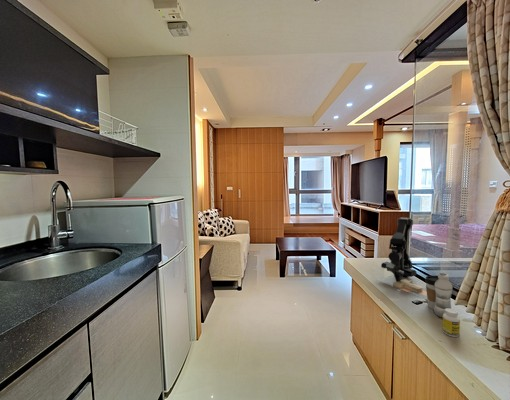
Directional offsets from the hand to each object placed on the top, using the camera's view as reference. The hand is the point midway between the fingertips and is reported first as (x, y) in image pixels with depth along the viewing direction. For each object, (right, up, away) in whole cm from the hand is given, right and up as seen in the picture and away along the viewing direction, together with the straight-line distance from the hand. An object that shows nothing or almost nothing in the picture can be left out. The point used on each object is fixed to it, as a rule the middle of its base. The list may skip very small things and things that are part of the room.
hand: (398, 282), depth 143 cm
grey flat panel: (+3, -1, -5) cm, 6 cm away
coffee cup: (+2, -3, -27) cm, 27 cm away
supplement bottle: (-7, -5, -47) cm, 48 cm away
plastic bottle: (-1, -4, -35) cm, 35 cm away
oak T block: (+3, -1, -6) cm, 7 cm away
